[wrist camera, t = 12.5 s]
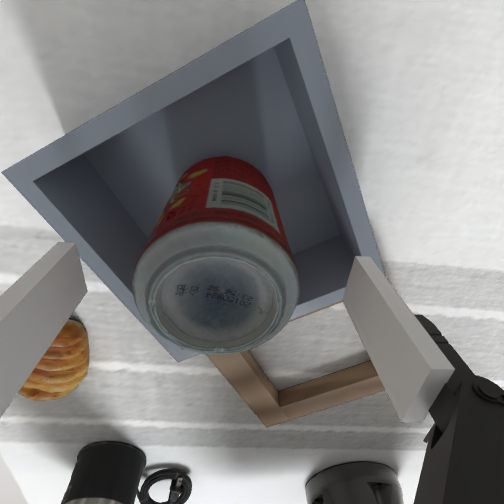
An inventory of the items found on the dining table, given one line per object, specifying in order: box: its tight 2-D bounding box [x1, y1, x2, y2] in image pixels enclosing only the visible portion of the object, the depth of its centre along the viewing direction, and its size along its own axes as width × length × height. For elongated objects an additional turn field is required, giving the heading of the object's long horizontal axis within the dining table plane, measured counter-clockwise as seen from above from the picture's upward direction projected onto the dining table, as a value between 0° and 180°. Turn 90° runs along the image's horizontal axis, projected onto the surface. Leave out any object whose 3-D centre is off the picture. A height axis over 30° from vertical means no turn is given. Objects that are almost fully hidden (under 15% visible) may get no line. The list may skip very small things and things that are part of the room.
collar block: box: [206, 301, 385, 427], centre depth 32 cm, size 18×18×2 cm
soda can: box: [132, 156, 300, 355], centre depth 17 cm, size 7×7×12 cm
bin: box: [1, 0, 385, 362], centre depth 20 cm, size 16×16×7 cm
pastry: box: [19, 319, 89, 401], centre depth 29 cm, size 9×7×4 cm
